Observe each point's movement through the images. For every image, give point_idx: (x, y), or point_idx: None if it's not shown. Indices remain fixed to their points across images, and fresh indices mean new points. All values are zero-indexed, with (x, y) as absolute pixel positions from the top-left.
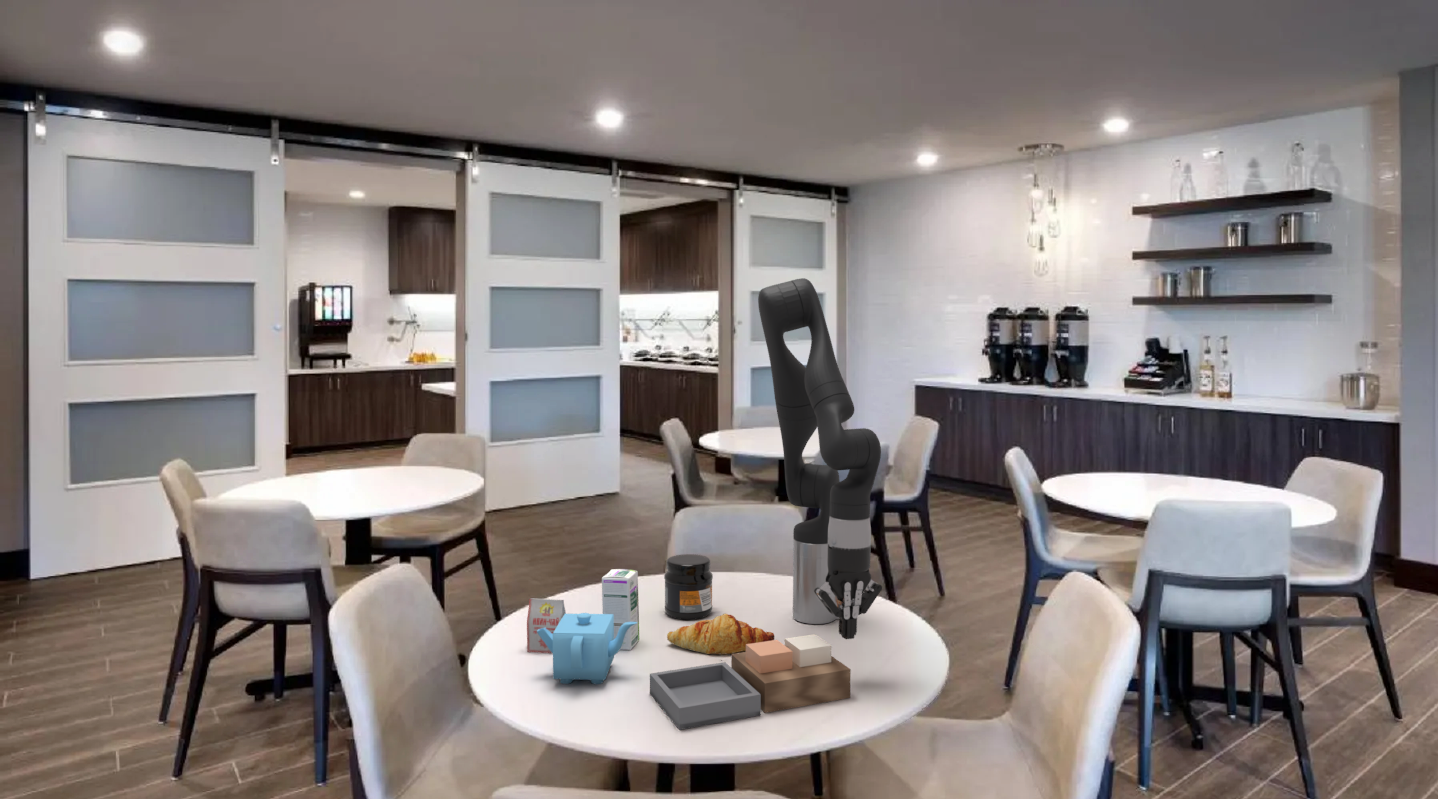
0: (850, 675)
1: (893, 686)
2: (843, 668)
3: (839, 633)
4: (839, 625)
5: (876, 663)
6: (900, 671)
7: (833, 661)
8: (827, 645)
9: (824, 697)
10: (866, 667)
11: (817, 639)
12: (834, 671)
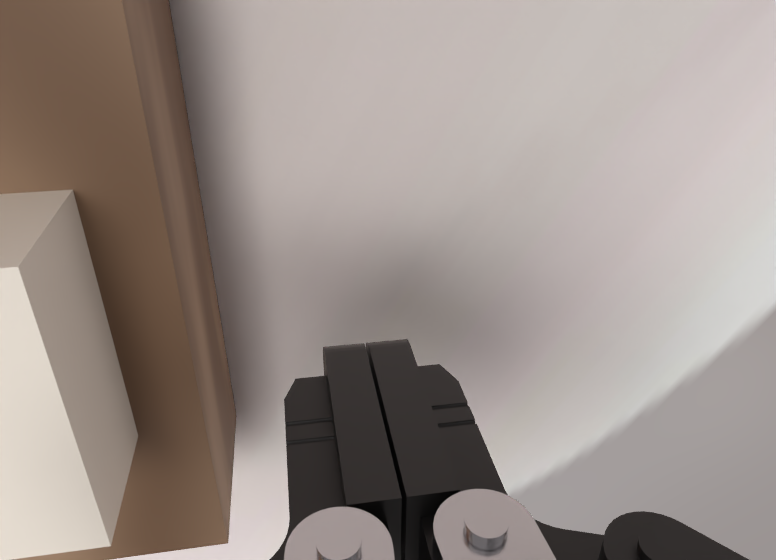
0: (229, 511)
1: (517, 351)
2: (186, 527)
3: (294, 381)
4: (288, 462)
5: (660, 25)
6: (688, 195)
7: (161, 428)
8: (70, 545)
9: None
10: (557, 68)
11: (6, 413)
12: (105, 557)
